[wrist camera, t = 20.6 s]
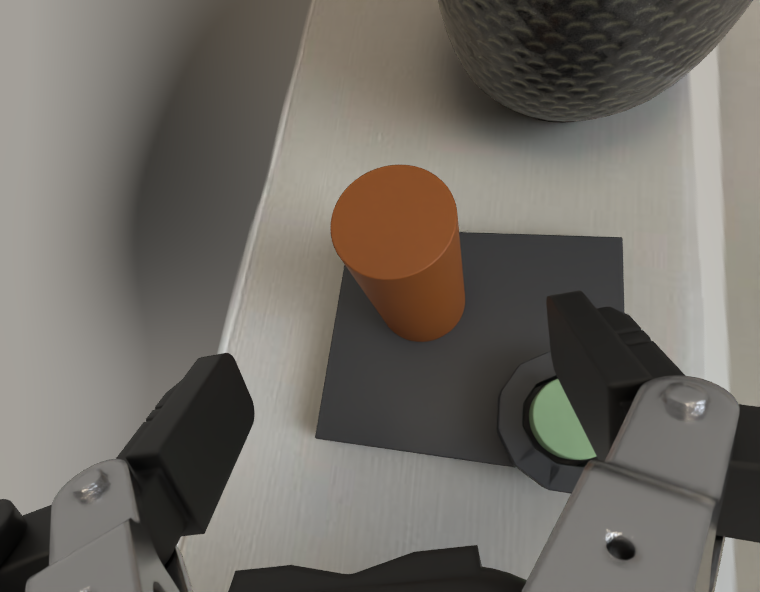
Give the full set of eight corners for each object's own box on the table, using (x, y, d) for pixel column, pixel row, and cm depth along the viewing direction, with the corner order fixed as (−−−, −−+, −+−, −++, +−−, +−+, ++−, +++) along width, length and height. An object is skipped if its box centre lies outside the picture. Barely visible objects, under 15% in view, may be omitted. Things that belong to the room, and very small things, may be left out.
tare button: (527, 453, 22) (530, 453, 20) (529, 378, 23) (533, 372, 22) (609, 464, 21) (619, 465, 20) (607, 386, 22) (617, 380, 21)
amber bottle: (374, 338, 27) (320, 275, 18) (386, 259, 28) (340, 163, 19) (461, 345, 26) (451, 283, 17) (468, 263, 27) (462, 163, 18)
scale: (321, 452, 27) (300, 452, 24) (356, 239, 31) (342, 214, 28) (624, 498, 23) (648, 505, 20) (619, 249, 28) (637, 222, 24)
